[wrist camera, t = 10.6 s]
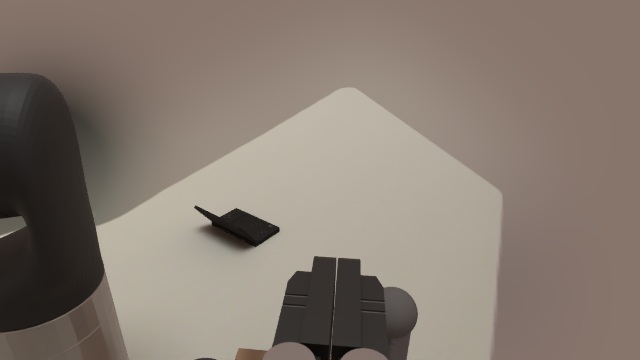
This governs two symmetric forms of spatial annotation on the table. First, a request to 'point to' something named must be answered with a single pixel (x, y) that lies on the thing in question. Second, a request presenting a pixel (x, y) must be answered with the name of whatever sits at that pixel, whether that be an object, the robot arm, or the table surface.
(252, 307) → the table surface
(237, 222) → the handheld gaming console
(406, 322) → the grey upright post stand
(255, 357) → the walnut stand base
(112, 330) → the robot arm
